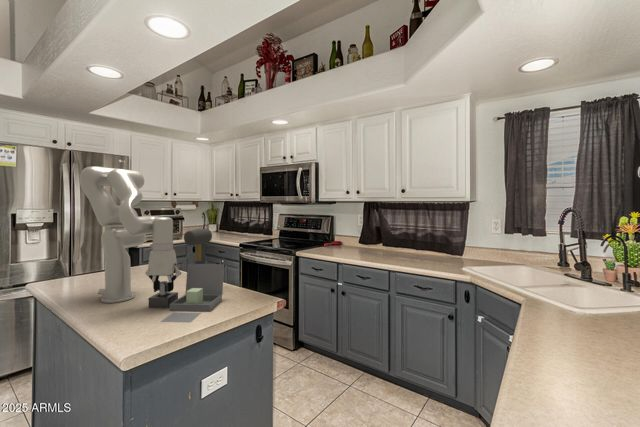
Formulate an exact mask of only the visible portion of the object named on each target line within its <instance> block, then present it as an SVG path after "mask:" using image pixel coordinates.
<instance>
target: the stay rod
mask: <svg viewBox="0 0 640 427" xmlns="http://www.w3.org/2000/svg"><path fill="white" fill-rule="evenodd" d="M167 283H168V280H163V281H162V280H161V281H160V282H159V290H158V291H159V292H158V293H159V296H160V297H167V296H168V292H167Z"/></svg>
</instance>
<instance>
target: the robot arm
mask: <svg viewBox="0 0 640 427" xmlns="http://www.w3.org/2000/svg"><path fill="white" fill-rule="evenodd" d="M79 174H80V175H79V183H80V187H81V190H82V192H83V194H84V195H85V196H86V197H87V199H88V201H89V203H90V205H91V208H92V211H93V212H94V215H95V217H96V220H97V222H98V223H99V225H100V226H101V227H104V228H107V229H105V230H104V231H103V232H102V234H101V236H100V241H101V245H102V248H103V258H104V260H103V261H104V288H100V289H99V290H98V291H97V293H96V294H97V295H102V297H101V298H100V302H102V303H104V304H105V303H106V304H113V303H122V302H127V301H129V300H132V299H133V298H135V297H136V293H135V292H133V291H132V284H131V282H132V278H131V275H132V274H131V272H132V271H131V269H132V268H131V256H130V254H129V253H128V251H127V250H126V249H127V248H133V247H139V246H141V245H143V244H144V243H145V241H146V235H152V244H150V245H149V248H150V249H151V248H152V250H150V253H149V256H148V265H147V266H148V267H147V270H146V271H145V273H144V274H145V275H146V276H147V277H148V278H149V279H150V280H151V282H152V284H153V285H152V287H153V288H152V289H153V292H154V293H156V292H158V291H159V282H161V281H160V280H159V279H160V277H167V292H173V291H174V288H175V287H174V286H175V285H174V284H175V283H174V281H175V280H176V279H177V278H178V277H180V276H181V275H182V271H181V270H180V269H179V268H178V261H177V260H178V259H177V255H176V251H175V249H174V225H173V224H174V221H173V218H171V217H168V216H165V217H164V216H156V215H155V216H154V215H149V216H148V215H147V216H139V214H138V212H137V211H136V210H135V208H133V207H134V206H136V205H138V203H140V202H141V201H142V200H143V198H144V197H143V193H142V192H141V190H140V189H141V188H143V187H144V185H145V178H144V176H143V174H142V173H141V172H140V171H138V170H133V169H124V168H117V167H116V168H115V167H114V168H113V167H105V166H95V165H94V166H93V165H92V166H87V167H85V168H83V169H82V170H81V172H80V173H79ZM104 187H111V188H112V190H113V192H114V193H115V195H116V197H117V198H118V199H119V201H120V205H117V204H116V202H115V201H114V197H113V196H112V194H110V192H109V191H108V190H106V188H104Z"/></svg>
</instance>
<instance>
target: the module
mask: <svg viewBox="0 0 640 427" xmlns="http://www.w3.org/2000/svg"><path fill="white" fill-rule="evenodd" d="M185 294H186V304H203V288H191V289H190V290H188V291H187V292H186V291H185Z"/></svg>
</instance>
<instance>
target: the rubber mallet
mask: <svg viewBox="0 0 640 427" xmlns="http://www.w3.org/2000/svg"><path fill="white" fill-rule="evenodd" d="M212 238H213V234H212V231H211V230H210V229H208V228H197V229H192V230H187V231H185V233H184V234H183V240H184V243H185V244H186V245H188V246H195V261H194V264H203V261H202V245H204V244H207V243H210V242H211V241H212Z"/></svg>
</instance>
